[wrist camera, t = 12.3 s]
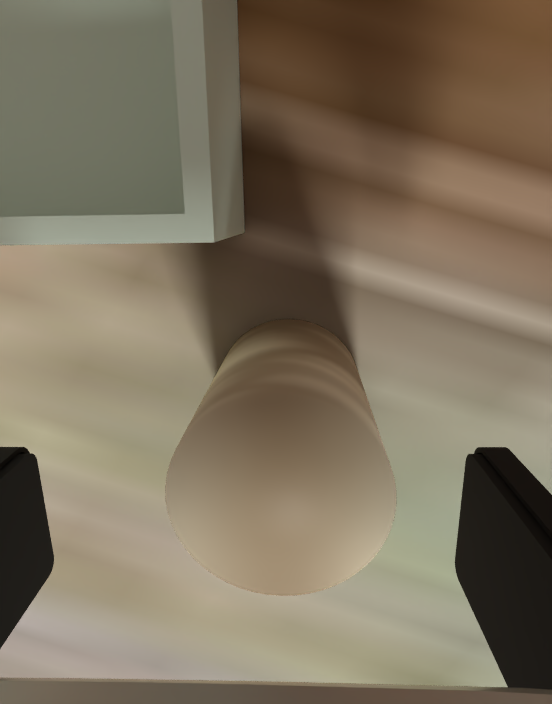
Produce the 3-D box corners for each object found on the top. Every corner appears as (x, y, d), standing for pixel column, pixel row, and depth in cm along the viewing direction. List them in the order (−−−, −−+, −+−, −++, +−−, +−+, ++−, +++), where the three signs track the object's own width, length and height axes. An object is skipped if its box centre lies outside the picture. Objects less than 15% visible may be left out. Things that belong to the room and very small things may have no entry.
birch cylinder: (361, 318, 16) (403, 394, 9) (356, 450, 17) (390, 599, 11) (216, 318, 16) (155, 393, 10) (222, 449, 18) (173, 592, 11)
